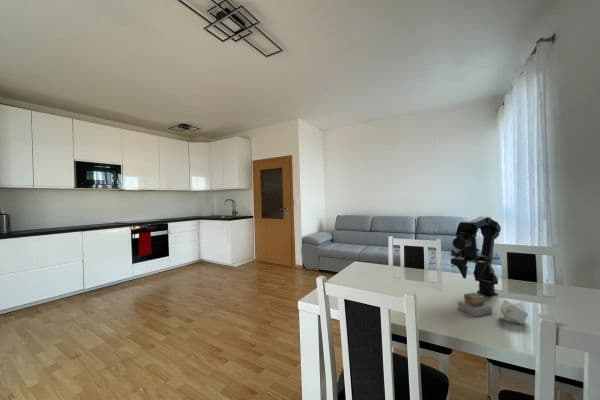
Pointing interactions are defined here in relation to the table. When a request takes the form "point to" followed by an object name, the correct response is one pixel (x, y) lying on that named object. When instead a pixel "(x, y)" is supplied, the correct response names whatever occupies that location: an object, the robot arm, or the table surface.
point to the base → (475, 309)
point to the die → (513, 311)
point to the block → (474, 299)
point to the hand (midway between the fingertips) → (472, 277)
